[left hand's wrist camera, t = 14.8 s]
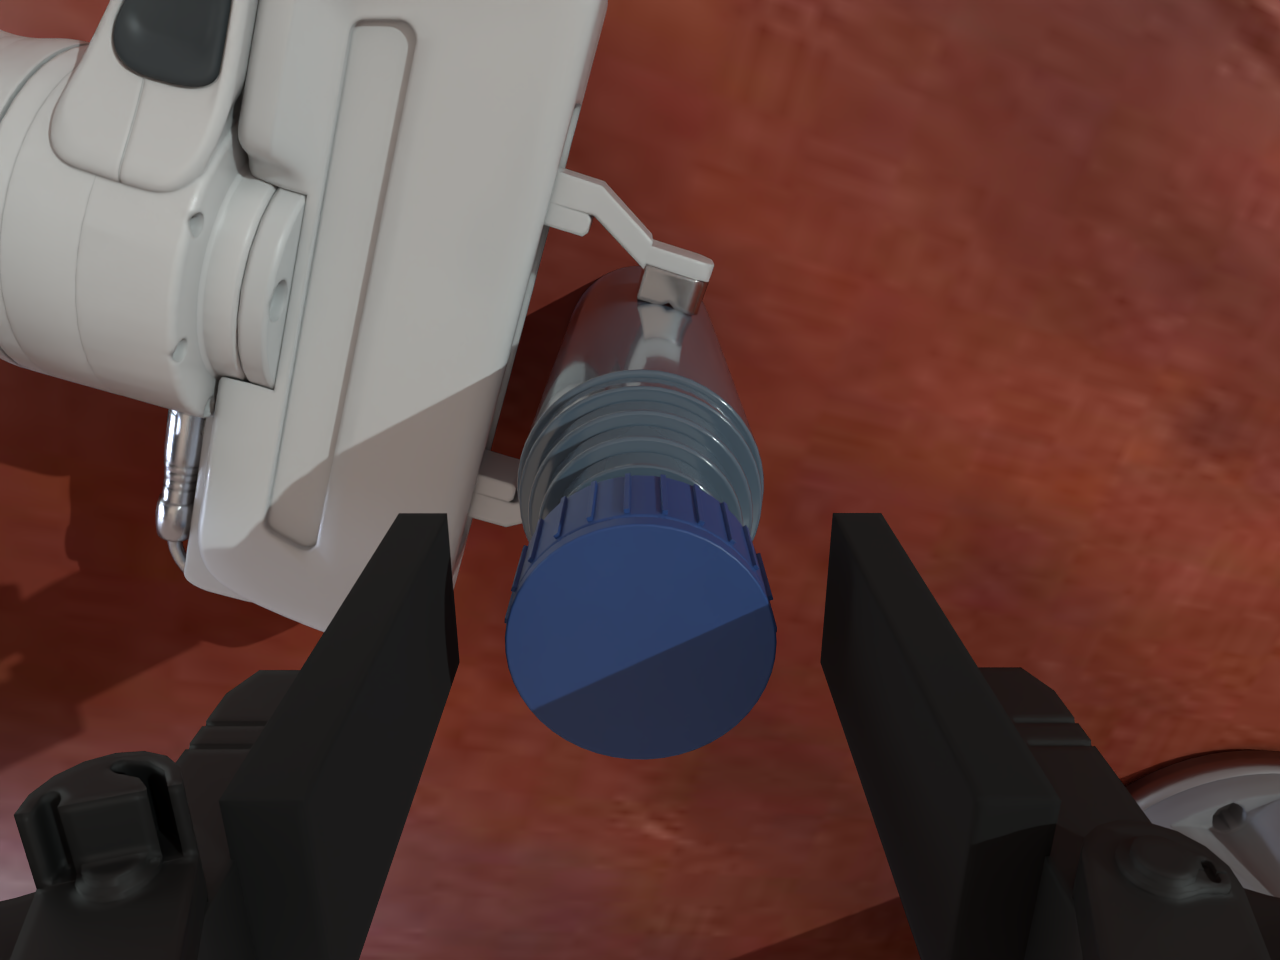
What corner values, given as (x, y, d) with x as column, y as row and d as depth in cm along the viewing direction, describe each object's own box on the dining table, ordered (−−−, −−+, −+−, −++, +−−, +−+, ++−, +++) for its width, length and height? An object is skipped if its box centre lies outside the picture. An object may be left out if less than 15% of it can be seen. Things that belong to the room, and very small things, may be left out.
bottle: (717, 398, 33) (820, 754, 14) (579, 414, 33) (501, 785, 14) (705, 257, 31) (802, 451, 12) (559, 274, 31) (438, 491, 13)
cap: (726, 438, 14) (739, 486, 12) (789, 654, 15) (810, 725, 13) (482, 511, 14) (459, 566, 13) (565, 714, 16) (555, 790, 14)
